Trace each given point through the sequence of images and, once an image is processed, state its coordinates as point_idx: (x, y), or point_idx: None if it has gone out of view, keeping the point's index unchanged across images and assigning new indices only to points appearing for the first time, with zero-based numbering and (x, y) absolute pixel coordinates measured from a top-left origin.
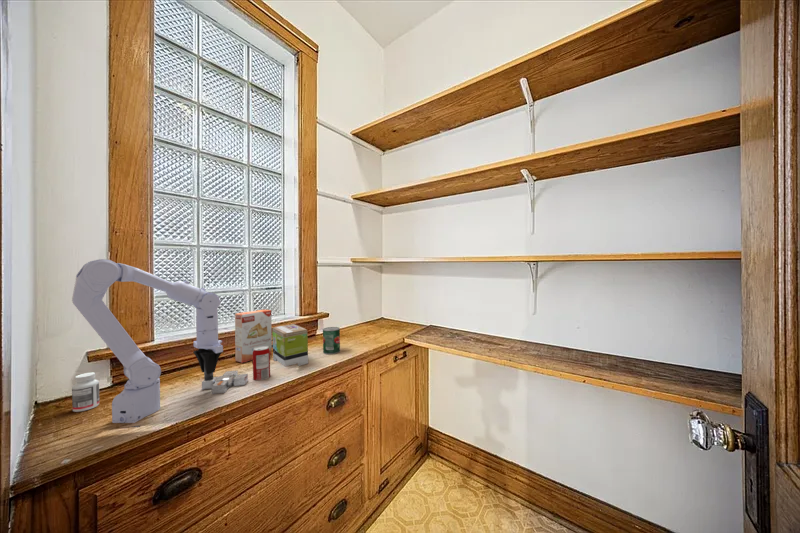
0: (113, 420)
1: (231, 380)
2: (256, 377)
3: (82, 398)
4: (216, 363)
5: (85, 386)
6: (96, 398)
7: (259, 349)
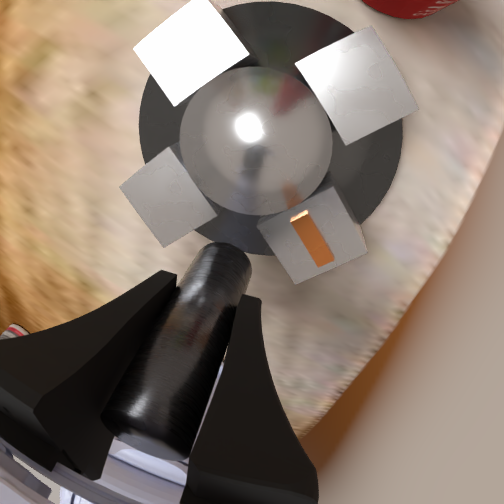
0: None
1: (331, 152)
2: (417, 11)
3: None
4: (265, 354)
5: None
6: None
7: None
